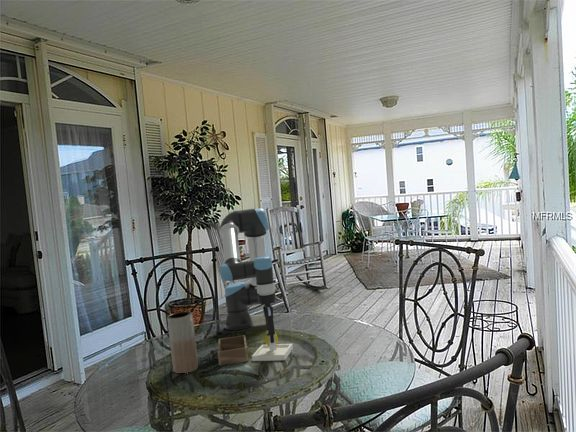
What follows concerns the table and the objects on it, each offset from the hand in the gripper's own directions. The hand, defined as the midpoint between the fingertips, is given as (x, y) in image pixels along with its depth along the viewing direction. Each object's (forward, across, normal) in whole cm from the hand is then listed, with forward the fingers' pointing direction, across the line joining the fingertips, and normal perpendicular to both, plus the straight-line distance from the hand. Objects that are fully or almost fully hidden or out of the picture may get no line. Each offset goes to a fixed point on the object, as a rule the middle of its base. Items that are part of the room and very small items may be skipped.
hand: (272, 347), depth 186 cm
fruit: (+1, 0, 0) cm, 1 cm away
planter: (+3, +2, -36) cm, 36 cm away
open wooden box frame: (+3, -7, -17) cm, 18 cm away
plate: (+3, 0, 0) cm, 3 cm away
